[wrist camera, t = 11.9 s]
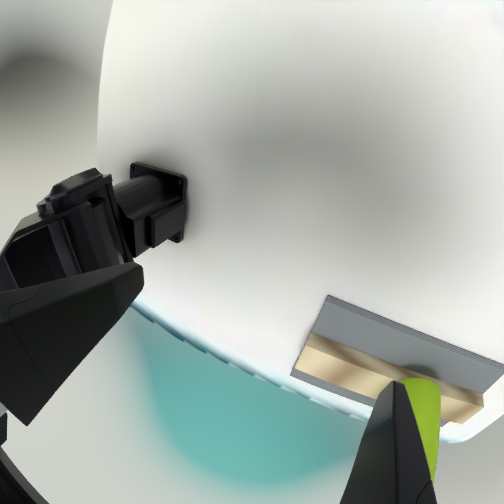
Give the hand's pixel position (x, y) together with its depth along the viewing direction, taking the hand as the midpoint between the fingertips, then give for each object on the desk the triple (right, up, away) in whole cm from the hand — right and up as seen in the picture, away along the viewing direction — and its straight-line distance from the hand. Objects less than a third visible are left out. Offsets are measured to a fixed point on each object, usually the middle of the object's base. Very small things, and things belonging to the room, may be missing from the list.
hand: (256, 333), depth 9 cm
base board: (+14, -9, +14) cm, 22 cm away
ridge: (+14, -9, +14) cm, 22 cm away
